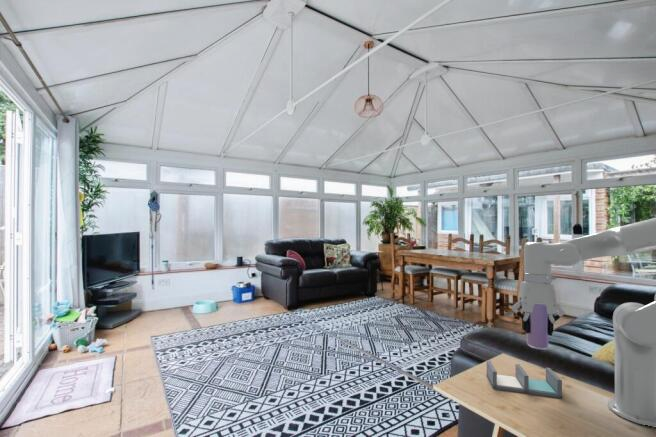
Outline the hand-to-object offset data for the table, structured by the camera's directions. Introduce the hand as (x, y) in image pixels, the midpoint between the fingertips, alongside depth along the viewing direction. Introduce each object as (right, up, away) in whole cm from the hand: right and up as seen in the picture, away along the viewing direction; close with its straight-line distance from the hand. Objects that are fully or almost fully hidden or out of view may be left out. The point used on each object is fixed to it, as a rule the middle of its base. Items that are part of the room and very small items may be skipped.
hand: (537, 332), depth 103 cm
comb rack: (-5, -18, +1) cm, 19 cm away
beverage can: (0, -5, 0) cm, 5 cm away
